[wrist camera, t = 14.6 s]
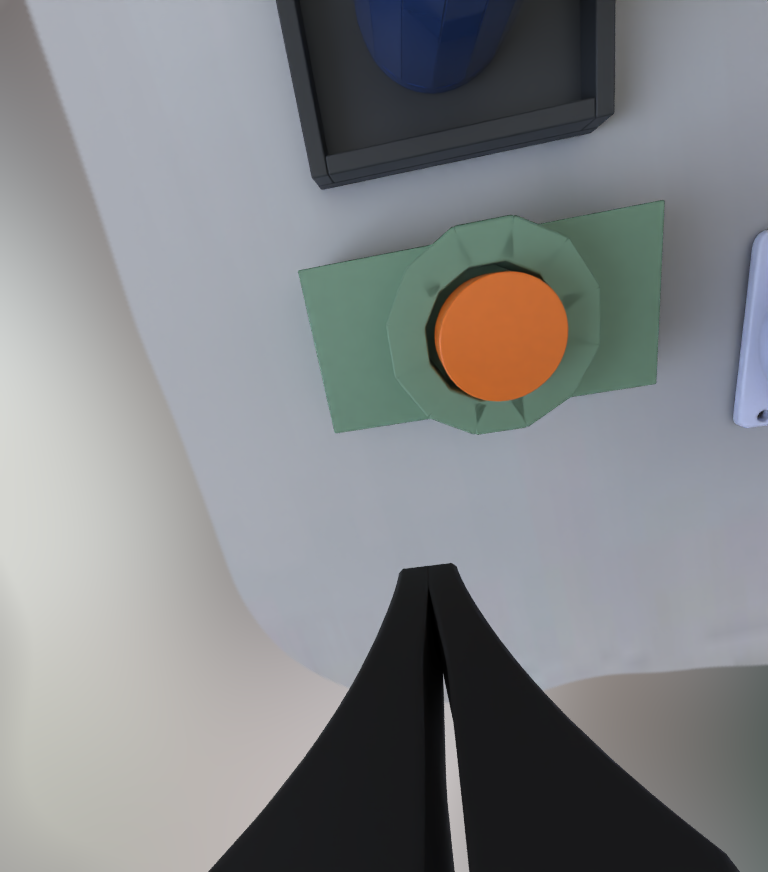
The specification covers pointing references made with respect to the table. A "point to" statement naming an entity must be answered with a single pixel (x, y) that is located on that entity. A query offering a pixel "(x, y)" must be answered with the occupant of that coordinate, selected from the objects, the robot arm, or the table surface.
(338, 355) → the green button base
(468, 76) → the cup
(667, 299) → the table surface
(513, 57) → the tray
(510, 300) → the button
